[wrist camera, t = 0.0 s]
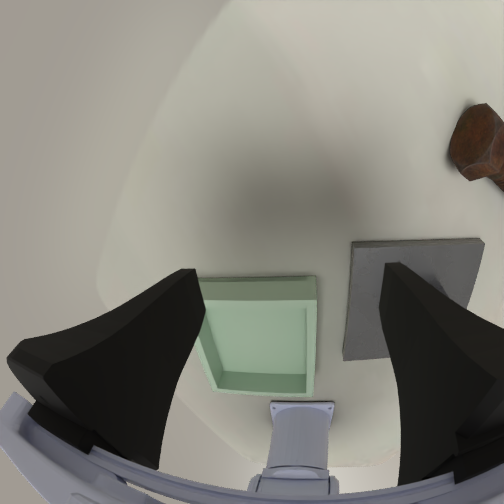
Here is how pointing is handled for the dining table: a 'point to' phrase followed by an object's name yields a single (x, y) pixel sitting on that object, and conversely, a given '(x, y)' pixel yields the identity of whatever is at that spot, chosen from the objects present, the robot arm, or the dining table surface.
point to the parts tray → (259, 335)
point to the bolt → (479, 145)
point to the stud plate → (418, 260)
